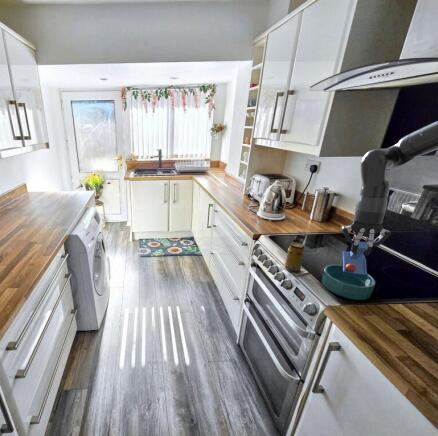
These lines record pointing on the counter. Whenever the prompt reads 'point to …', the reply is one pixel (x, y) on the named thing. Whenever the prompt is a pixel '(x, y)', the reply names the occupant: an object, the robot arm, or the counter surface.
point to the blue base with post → (356, 259)
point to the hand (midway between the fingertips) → (359, 254)
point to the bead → (350, 268)
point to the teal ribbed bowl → (347, 283)
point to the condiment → (295, 259)
